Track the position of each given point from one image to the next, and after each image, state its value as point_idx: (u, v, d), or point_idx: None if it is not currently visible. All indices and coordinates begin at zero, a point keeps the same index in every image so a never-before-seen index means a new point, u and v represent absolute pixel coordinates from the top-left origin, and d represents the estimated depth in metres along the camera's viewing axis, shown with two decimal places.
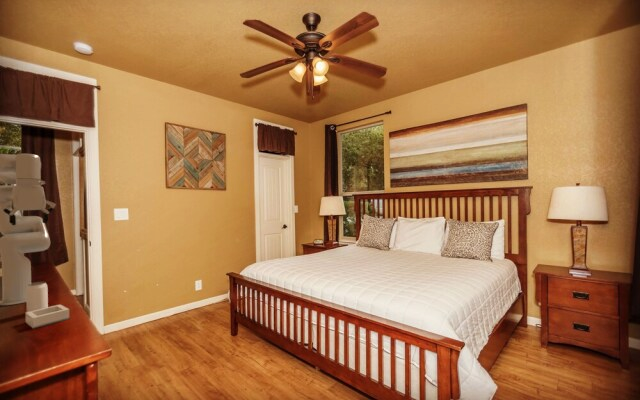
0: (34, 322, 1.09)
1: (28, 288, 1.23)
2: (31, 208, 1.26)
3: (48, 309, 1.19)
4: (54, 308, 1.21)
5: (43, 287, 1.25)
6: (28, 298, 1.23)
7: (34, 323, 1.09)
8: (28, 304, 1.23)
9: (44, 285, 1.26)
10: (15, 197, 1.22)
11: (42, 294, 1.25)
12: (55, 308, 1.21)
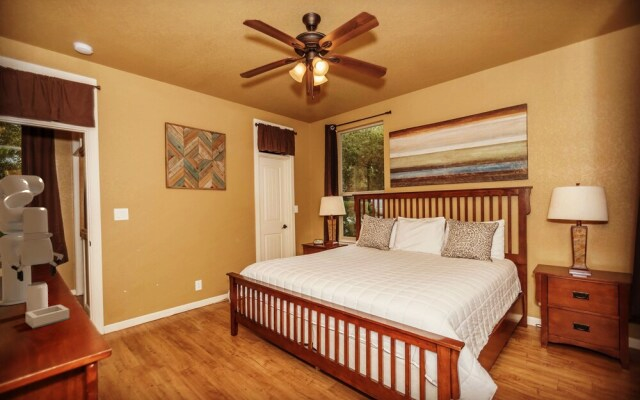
0: (34, 322, 1.09)
1: (28, 288, 1.23)
2: (39, 262, 1.25)
3: (48, 309, 1.19)
4: (54, 308, 1.21)
5: (43, 287, 1.25)
6: (28, 298, 1.23)
7: (34, 323, 1.09)
8: (28, 304, 1.23)
9: (44, 285, 1.26)
10: (23, 253, 1.21)
11: (42, 294, 1.25)
12: (55, 308, 1.21)
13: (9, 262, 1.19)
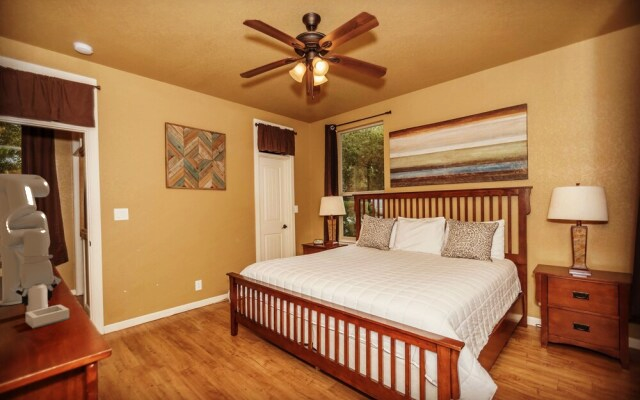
0: (34, 322, 1.09)
1: None
2: None
3: (48, 309, 1.19)
4: (54, 308, 1.21)
5: (43, 287, 1.25)
6: (28, 298, 1.23)
7: (34, 323, 1.09)
8: (28, 304, 1.23)
9: (44, 285, 1.26)
10: (23, 276, 1.21)
11: (42, 294, 1.25)
12: (55, 308, 1.21)
13: (12, 288, 1.19)
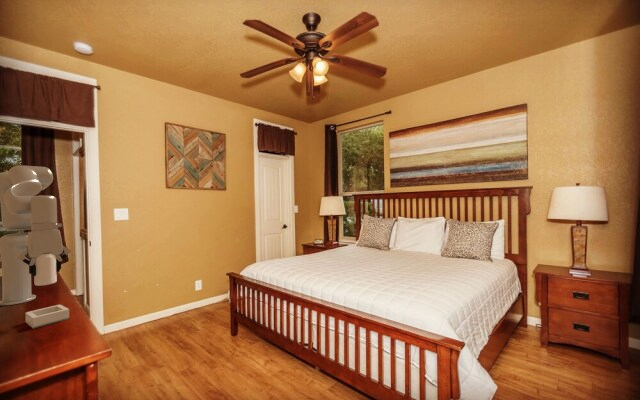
0: (34, 322, 1.09)
1: None
2: None
3: (48, 309, 1.19)
4: (54, 308, 1.21)
5: (52, 256, 1.17)
6: (36, 268, 1.14)
7: (34, 323, 1.09)
8: (36, 274, 1.14)
9: (53, 255, 1.17)
10: (30, 244, 1.12)
11: (51, 264, 1.16)
12: (55, 308, 1.21)
13: (19, 257, 1.11)
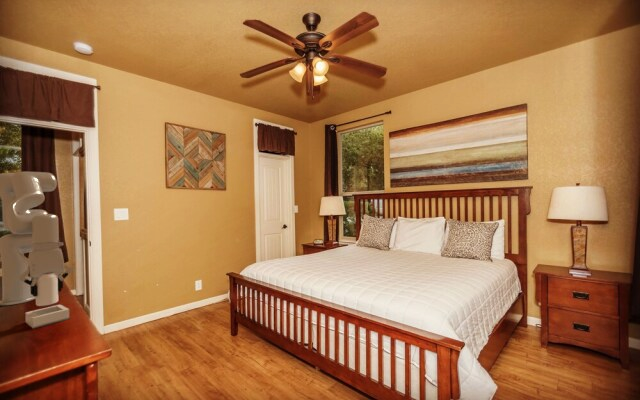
0: (34, 322, 1.09)
1: None
2: None
3: (48, 309, 1.19)
4: (54, 308, 1.21)
5: (53, 276, 1.16)
6: (37, 288, 1.13)
7: (34, 323, 1.09)
8: (37, 295, 1.13)
9: (54, 274, 1.16)
10: (32, 264, 1.11)
11: (52, 284, 1.15)
12: (55, 308, 1.21)
13: (20, 277, 1.10)
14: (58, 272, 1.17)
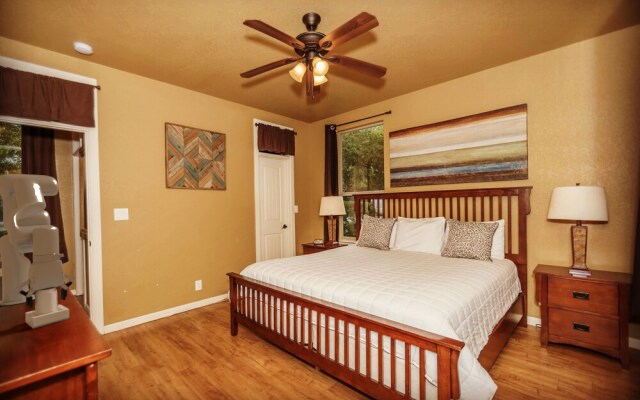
0: (34, 322, 1.09)
1: (37, 293, 1.13)
2: (49, 286, 1.15)
3: None
4: None
5: (53, 292, 1.16)
6: (37, 304, 1.13)
7: (34, 323, 1.09)
8: (37, 310, 1.13)
9: (54, 290, 1.16)
10: (32, 277, 1.11)
11: (52, 299, 1.15)
12: None
13: (18, 287, 1.09)
14: (58, 284, 1.18)
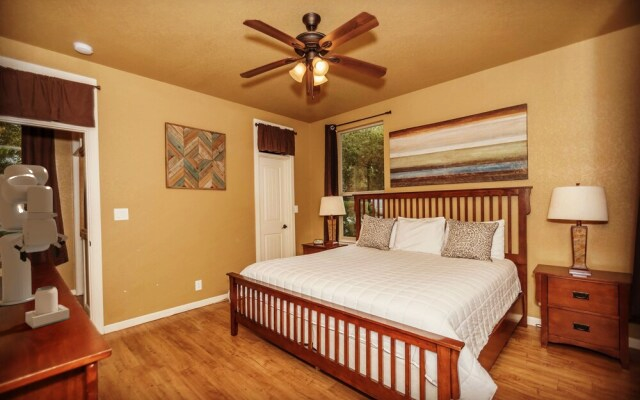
0: (34, 322, 1.09)
1: (37, 293, 1.13)
2: (42, 243, 1.20)
3: None
4: None
5: (53, 292, 1.16)
6: (37, 304, 1.13)
7: (34, 323, 1.09)
8: (37, 310, 1.13)
9: (54, 290, 1.16)
10: (26, 233, 1.16)
11: (52, 299, 1.15)
12: None
13: (12, 241, 1.14)
14: (51, 241, 1.22)
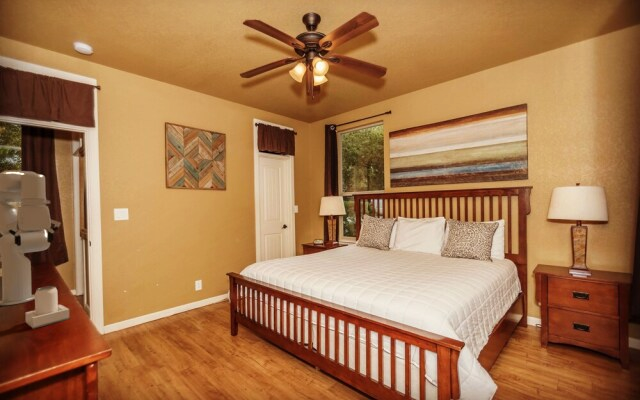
0: (34, 322, 1.09)
1: (37, 293, 1.13)
2: (36, 228, 1.26)
3: None
4: None
5: (53, 292, 1.16)
6: (37, 304, 1.13)
7: (34, 323, 1.09)
8: (37, 310, 1.13)
9: (54, 290, 1.16)
10: (20, 218, 1.22)
11: (52, 299, 1.15)
12: None
13: (7, 226, 1.20)
14: (45, 227, 1.28)
